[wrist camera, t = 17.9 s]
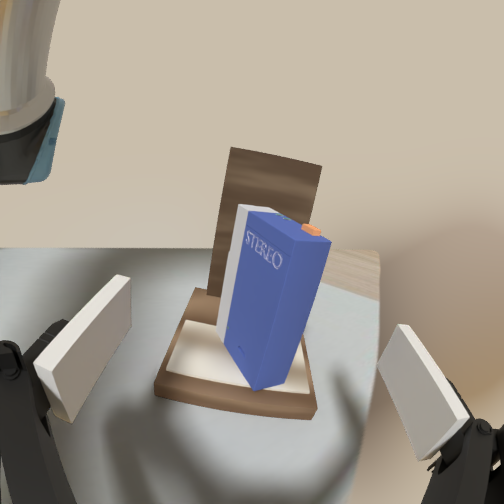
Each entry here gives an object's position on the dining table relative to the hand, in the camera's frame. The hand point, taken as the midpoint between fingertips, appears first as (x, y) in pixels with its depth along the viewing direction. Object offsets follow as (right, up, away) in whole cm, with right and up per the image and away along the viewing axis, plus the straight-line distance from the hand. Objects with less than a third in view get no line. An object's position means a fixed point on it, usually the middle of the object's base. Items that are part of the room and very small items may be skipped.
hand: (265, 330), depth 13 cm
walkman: (-1, -5, +10) cm, 11 cm away
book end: (-2, -6, +13) cm, 14 cm away
